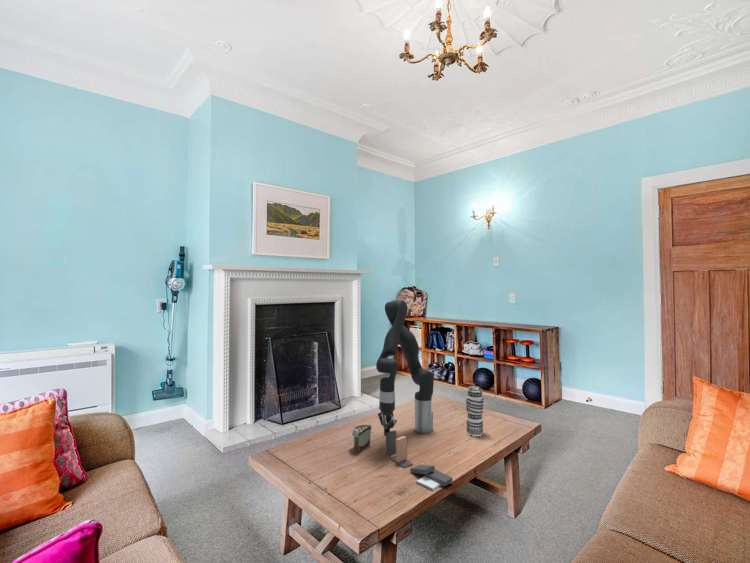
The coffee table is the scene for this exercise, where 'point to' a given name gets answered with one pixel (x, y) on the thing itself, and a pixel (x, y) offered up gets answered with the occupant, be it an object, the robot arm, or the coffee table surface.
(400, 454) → the domino
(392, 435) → the domino
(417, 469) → the domino
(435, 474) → the domino
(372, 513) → the coffee table surface
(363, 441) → the food container
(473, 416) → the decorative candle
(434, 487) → the external hard drive
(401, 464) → the domino
